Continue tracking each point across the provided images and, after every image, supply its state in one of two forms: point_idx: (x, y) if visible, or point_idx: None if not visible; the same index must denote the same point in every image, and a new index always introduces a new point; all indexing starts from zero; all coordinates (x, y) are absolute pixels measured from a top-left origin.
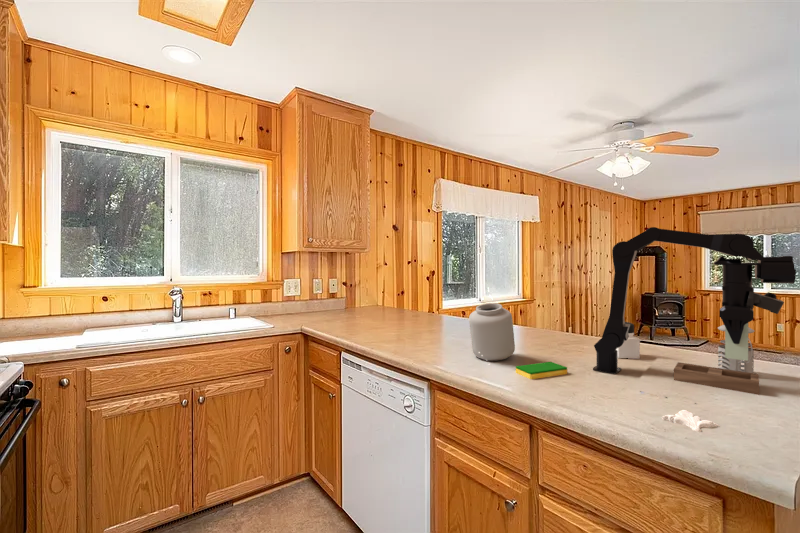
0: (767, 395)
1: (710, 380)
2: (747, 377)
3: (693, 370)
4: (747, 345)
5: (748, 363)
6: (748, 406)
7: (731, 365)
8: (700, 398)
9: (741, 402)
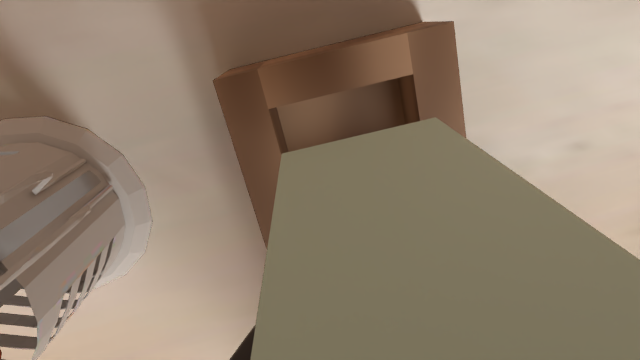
0: (316, 8)
1: None
2: (273, 119)
3: None
4: (496, 167)
5: (17, 183)
6: (597, 23)
7: (95, 244)
8: (614, 188)
9: (551, 61)
